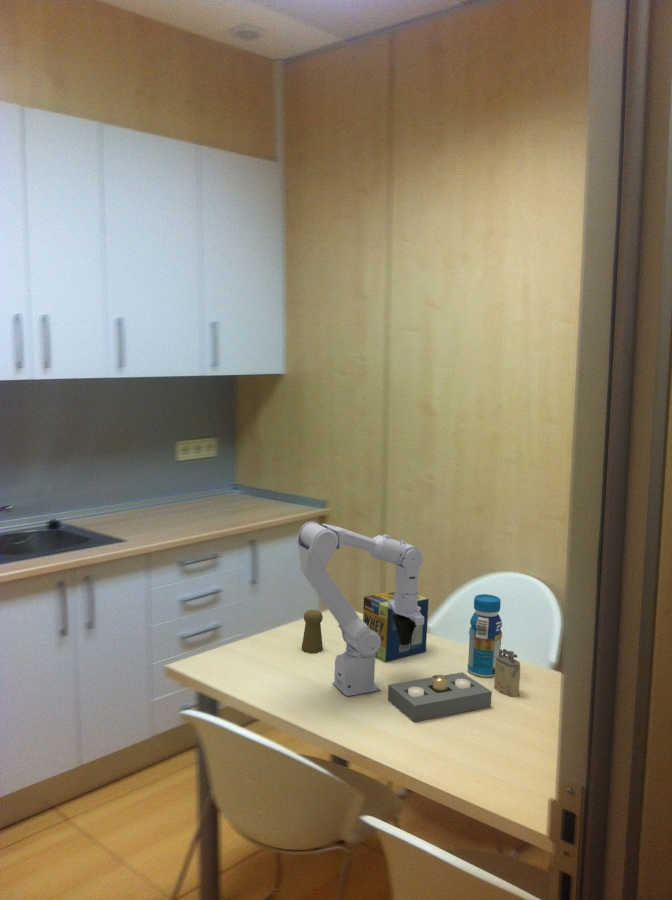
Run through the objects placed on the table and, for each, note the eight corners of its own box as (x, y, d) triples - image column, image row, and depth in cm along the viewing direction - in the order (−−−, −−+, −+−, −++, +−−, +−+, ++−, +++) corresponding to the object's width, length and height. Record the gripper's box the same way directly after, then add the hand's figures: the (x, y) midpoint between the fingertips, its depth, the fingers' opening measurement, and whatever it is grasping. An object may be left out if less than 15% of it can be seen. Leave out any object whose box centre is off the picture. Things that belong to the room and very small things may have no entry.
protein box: (360, 650, 211) (362, 596, 209) (402, 640, 220) (404, 588, 218) (385, 663, 203) (387, 606, 201) (427, 651, 212) (429, 597, 210)
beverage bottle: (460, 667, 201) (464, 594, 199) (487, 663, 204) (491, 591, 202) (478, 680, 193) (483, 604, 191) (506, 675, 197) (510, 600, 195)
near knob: (412, 712, 174) (413, 694, 173) (404, 705, 177) (405, 687, 177) (426, 709, 175) (426, 691, 175) (417, 703, 179) (418, 685, 178)
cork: (322, 653, 207) (323, 614, 206) (300, 653, 208) (301, 614, 206) (323, 645, 213) (324, 607, 212) (301, 645, 214) (303, 607, 212)
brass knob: (437, 699, 176) (438, 681, 176) (428, 693, 180) (429, 676, 179) (450, 697, 178) (451, 679, 177) (441, 691, 181) (442, 673, 181)
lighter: (521, 695, 185) (524, 655, 184) (510, 698, 183) (513, 658, 182) (500, 684, 191) (503, 646, 190) (489, 687, 189) (492, 648, 188)
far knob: (460, 703, 179) (460, 685, 179) (451, 697, 183) (452, 679, 182) (472, 700, 181) (473, 683, 180) (463, 694, 184) (464, 677, 184)
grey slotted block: (413, 722, 169) (414, 705, 169) (387, 700, 180) (388, 684, 179) (490, 707, 178) (491, 691, 178) (461, 686, 189) (462, 672, 188)
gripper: (435, 597, 185) (433, 651, 186) (405, 581, 198) (404, 632, 199) (410, 601, 182) (409, 655, 183) (381, 584, 195) (380, 635, 196)
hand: (404, 643), depth 191 cm, fingers closed
